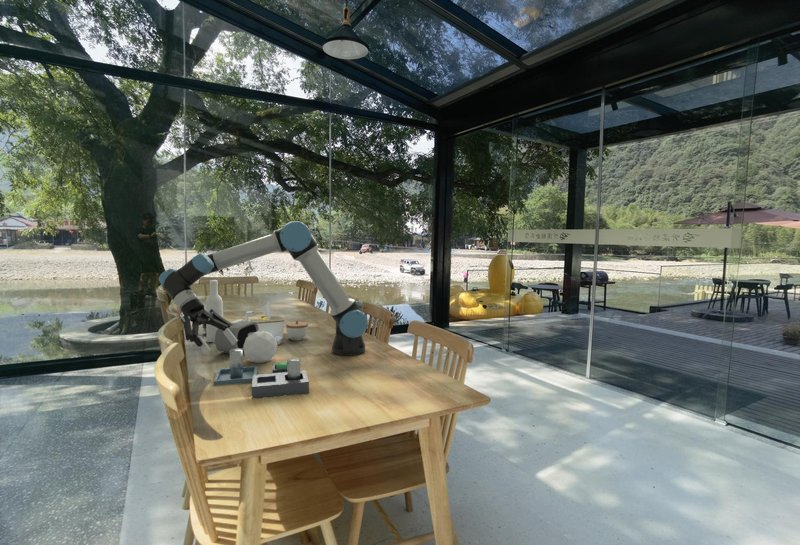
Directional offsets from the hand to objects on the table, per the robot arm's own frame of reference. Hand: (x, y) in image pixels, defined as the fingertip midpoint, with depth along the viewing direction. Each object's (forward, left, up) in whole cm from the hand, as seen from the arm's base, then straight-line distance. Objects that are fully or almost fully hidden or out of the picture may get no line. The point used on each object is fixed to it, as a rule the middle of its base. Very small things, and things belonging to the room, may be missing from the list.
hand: (222, 347), depth 154 cm
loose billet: (-5, +4, -10) cm, 12 cm away
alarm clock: (-3, -37, -11) cm, 39 cm away
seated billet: (-24, +19, -11) cm, 33 cm away
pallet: (-20, +19, -11) cm, 29 cm away
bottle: (+9, -57, -11) cm, 59 cm away
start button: (-21, +6, -9) cm, 24 cm away
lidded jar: (-30, -51, -11) cm, 61 cm away
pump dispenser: (+12, -74, -11) cm, 76 cm away
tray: (-5, +4, -11) cm, 13 cm away
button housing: (-21, +6, -11) cm, 24 cm away
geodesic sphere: (-13, -15, -11) cm, 23 cm away
